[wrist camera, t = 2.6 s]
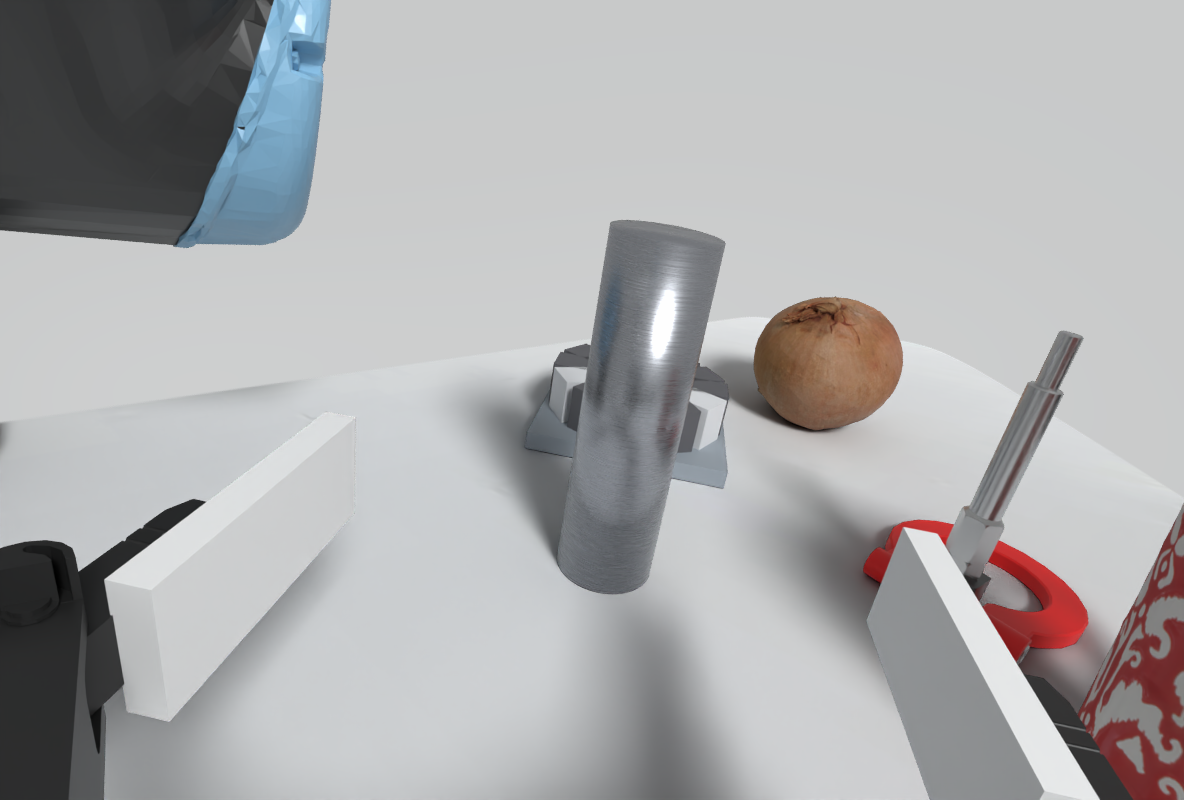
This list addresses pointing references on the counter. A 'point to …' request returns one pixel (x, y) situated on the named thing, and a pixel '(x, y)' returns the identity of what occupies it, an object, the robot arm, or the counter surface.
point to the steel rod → (635, 399)
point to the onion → (827, 362)
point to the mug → (1146, 684)
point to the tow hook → (983, 524)
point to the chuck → (700, 435)
